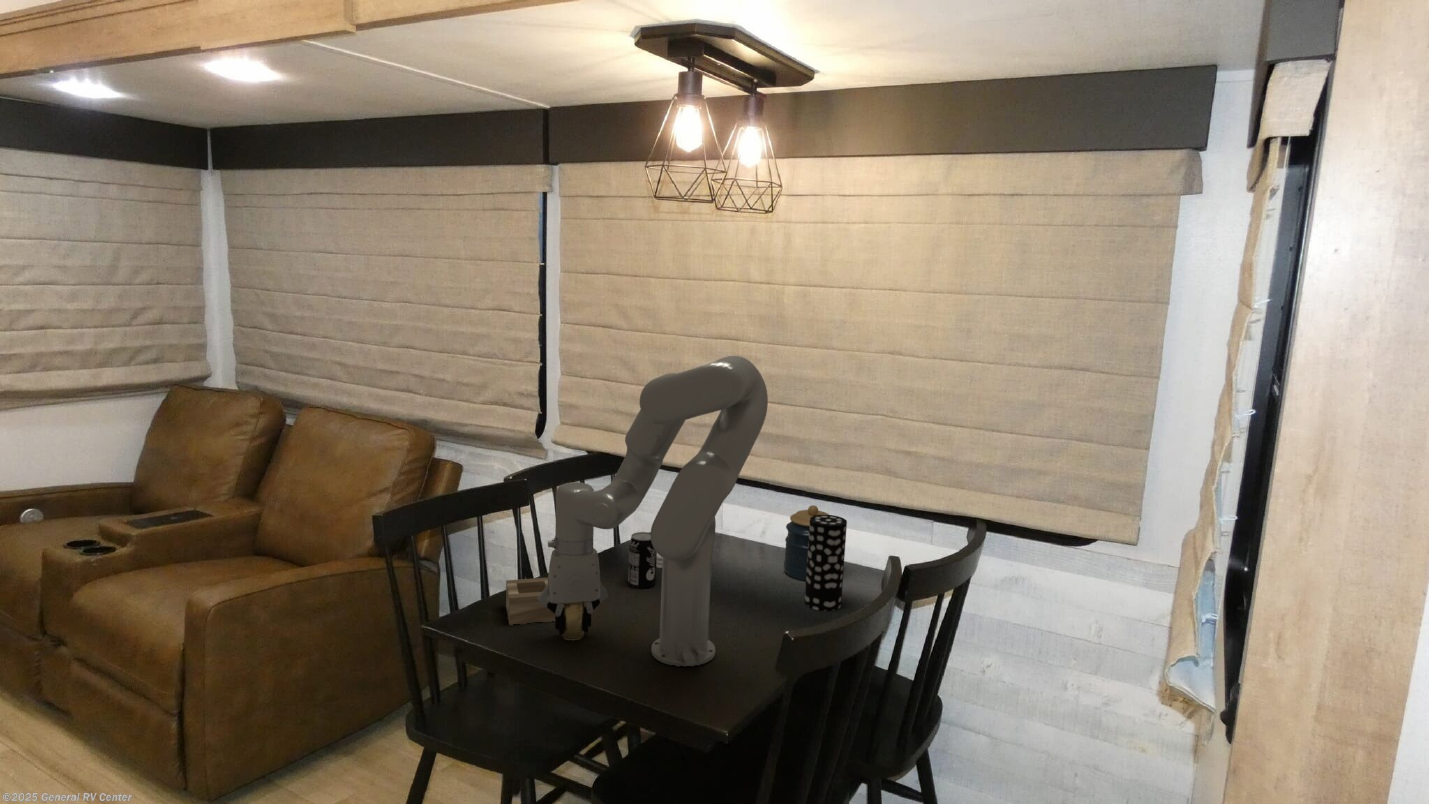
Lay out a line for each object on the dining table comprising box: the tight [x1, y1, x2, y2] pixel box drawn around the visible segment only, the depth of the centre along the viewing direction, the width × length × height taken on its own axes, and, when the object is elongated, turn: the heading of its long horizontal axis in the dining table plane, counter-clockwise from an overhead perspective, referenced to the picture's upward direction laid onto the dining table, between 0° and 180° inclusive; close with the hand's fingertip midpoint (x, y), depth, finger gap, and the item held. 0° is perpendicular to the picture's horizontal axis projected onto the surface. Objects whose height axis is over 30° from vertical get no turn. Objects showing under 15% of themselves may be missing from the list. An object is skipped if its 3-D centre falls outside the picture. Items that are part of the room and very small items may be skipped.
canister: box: [783, 504, 830, 581], centre depth 212 cm, size 13×13×18 cm
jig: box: [505, 577, 555, 626], centre depth 181 cm, size 10×10×6 cm
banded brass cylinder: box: [561, 602, 585, 639], centre depth 171 cm, size 4×4×8 cm
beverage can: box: [627, 531, 657, 589], centre depth 200 cm, size 7×7×12 cm
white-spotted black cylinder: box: [804, 514, 848, 612], centre depth 193 cm, size 8×8×20 cm
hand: (572, 630), depth 172 cm, fingers closed on banded brass cylinder, 4 cm apart
